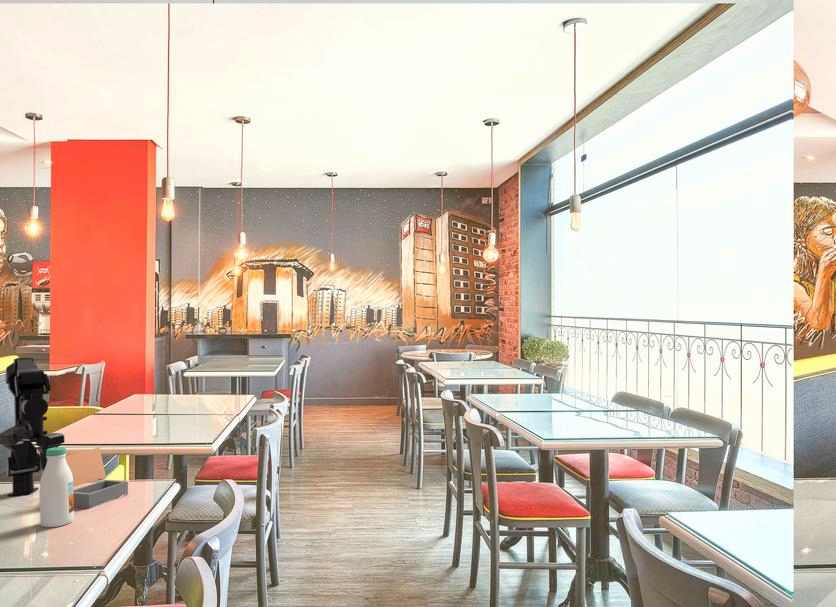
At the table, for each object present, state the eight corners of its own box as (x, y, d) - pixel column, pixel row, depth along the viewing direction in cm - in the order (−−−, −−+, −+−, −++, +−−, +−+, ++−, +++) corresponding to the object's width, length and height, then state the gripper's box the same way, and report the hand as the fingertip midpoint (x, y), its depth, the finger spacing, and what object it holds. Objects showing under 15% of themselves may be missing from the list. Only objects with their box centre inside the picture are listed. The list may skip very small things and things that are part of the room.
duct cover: (66, 489, 177) (64, 489, 178) (106, 476, 190) (104, 477, 191) (59, 457, 178) (57, 457, 179) (99, 447, 192) (97, 447, 192)
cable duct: (66, 506, 177) (66, 492, 177) (106, 492, 190) (105, 479, 190) (89, 508, 174) (89, 494, 174) (128, 494, 187) (127, 481, 187)
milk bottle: (63, 527, 158) (61, 450, 158) (33, 528, 158) (32, 451, 158) (80, 518, 166) (78, 444, 166) (52, 518, 166) (50, 445, 166)
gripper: (-20, 418, 170) (-19, 474, 169) (29, 420, 164) (30, 478, 163) (18, 412, 180) (19, 464, 180) (65, 413, 174) (66, 467, 174)
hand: (32, 468), depth 174 cm, fingers open, 9 cm apart
